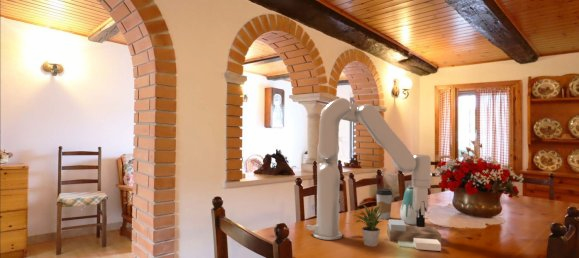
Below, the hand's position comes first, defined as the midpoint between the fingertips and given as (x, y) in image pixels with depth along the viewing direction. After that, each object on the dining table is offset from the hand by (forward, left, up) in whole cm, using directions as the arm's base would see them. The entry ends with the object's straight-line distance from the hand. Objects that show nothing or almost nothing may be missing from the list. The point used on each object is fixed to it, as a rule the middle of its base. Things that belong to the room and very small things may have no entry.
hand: (420, 226), depth 147 cm
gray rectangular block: (-10, 0, -1) cm, 10 cm away
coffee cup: (-12, +35, -6) cm, 38 cm away
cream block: (0, -12, -2) cm, 12 cm away
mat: (-4, -9, -5) cm, 11 cm away
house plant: (-21, -11, -6) cm, 24 cm away
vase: (+1, +27, -6) cm, 28 cm away
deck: (-3, 0, -5) cm, 6 cm away
